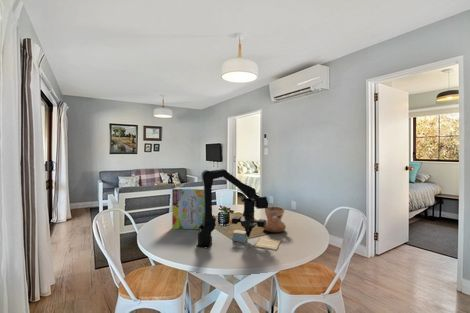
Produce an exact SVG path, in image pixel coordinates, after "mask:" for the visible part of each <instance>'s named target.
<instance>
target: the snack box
mask: <svg viewBox="0 0 470 313" xmlns="http://www.w3.org/2000/svg"><path fill="white" fill-rule="evenodd" d="M171 190H172V191H171V195H172V197H171V198H172V201H171V202H172V203H171V205H172V208H171V209H172V215H171V216H172V217H171V219H172V220H171V222H172V226H171V227H172V228H171V229H172V230H173V229H176V230H178V229H180V230H199V229H198V228H199V227H200V226H201V225H202V222H203V217H204V187H193V186H192V187H188V186H187V187H179V186H178V187H174V188H172V189H171Z"/></svg>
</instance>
